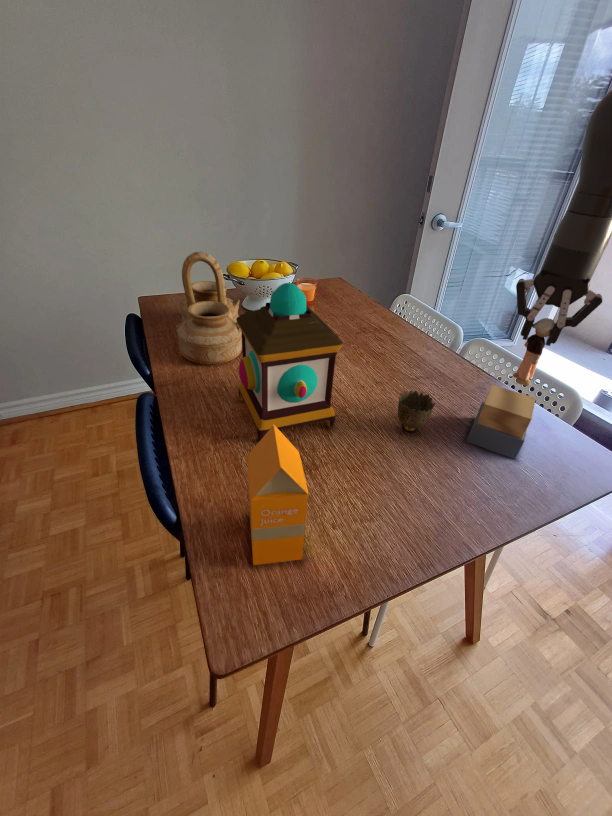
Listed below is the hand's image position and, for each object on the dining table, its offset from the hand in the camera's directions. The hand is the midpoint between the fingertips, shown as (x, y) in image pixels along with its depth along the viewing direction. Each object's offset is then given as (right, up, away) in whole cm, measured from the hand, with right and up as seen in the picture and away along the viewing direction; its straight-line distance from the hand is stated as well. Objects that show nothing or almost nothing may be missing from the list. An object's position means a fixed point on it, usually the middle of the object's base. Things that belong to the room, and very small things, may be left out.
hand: (536, 340), depth 74 cm
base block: (-1, -19, +14) cm, 24 cm away
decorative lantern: (-48, -14, +17) cm, 53 cm away
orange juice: (-48, -34, -10) cm, 59 cm away
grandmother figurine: (0, -7, +5) cm, 8 cm away
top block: (-1, -15, +11) cm, 19 cm away
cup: (-20, -17, +15) cm, 30 cm away
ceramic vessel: (-71, +8, +45) cm, 84 cm away
